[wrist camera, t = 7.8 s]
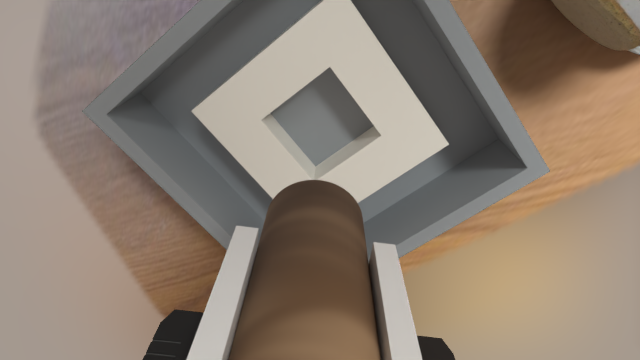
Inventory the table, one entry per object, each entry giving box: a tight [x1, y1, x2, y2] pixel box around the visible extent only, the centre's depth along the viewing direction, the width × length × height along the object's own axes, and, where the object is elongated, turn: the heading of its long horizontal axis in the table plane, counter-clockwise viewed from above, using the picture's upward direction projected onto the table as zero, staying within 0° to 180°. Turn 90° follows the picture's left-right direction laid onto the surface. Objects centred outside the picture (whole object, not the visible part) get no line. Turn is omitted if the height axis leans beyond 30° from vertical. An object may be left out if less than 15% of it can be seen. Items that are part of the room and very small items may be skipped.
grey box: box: [82, 0, 550, 263], centre depth 28 cm, size 20×20×6 cm
